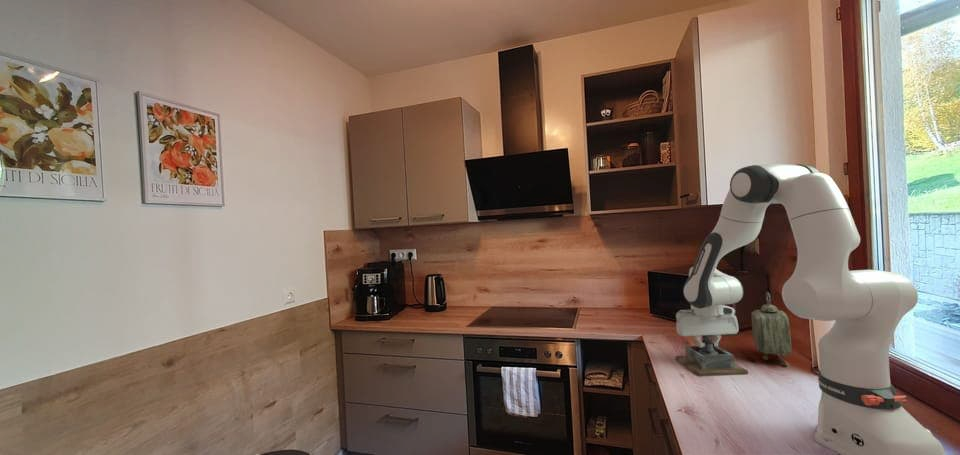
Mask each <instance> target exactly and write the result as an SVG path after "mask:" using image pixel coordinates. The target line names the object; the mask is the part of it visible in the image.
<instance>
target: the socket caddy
mask: <svg viewBox="0 0 960 455" xmlns="http://www.w3.org/2000/svg"><path fill="white" fill-rule="evenodd" d="M684 348H685V355H675V360H676V361H677V362H679V363H680V364H682V365H683V366H684V367H686V368H688V370H690V371H691V372H693V373H694V374H695V375H697V376H698V377H714V376H715V377H716V376H739V375H749V371H748V370H747V369H746V368H744V367H742V366H740V365H739V364H736V363H735V355H734V354H733V353H731V352H729V351H727V350H726V349H724V348H721V347H719V346H718V347H713V349H714V351H717V352H718V354H716V355H702V354H700V352H699V350H702V349H703V348H700V347H699V346H698V345H691V346H690V345H687V346H685V347H684Z"/></svg>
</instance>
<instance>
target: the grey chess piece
mask: <svg viewBox="0 0 960 455" xmlns="http://www.w3.org/2000/svg"><path fill="white" fill-rule="evenodd" d="M701 341H702V342H704V343H705V348H703V349H702V350H699V352H700V354H702V355H716V354H718V352H717V351H714V349H713V335H703V336H702V340H701Z"/></svg>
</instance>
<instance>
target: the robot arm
mask: <svg viewBox="0 0 960 455" xmlns="http://www.w3.org/2000/svg"><path fill="white" fill-rule="evenodd" d="M725 196H726V197H725V198H724V201H723V203H722V206H721V209H720V210H721V211H720V212H719V218H718V221H717V222H716V225H715V226H714V228H713V230H712V231H711V232H710V233H709V234H708V235H707V236H706V237H705V238H704V241H703V243H702V245H701V247H700V250H699V252H698V255H697V258H696V260H695V262H694V265H693V266H691V267H690V268H689V271H688V278H687V279H686V280H685V283H684V286H683V287H682V294H683V296H684V299H685V300H686V302H688V304H690V309H680V310H678V311H677V312H676V314H675V319H676V333H677V334H678V335H679V336H681V337H694V339H695V340H696V342H697V346H699V347H700V348H705V343H704V342H702V340H701V339H702V337H703V335H712V337H714V338H713V339H712V341H713V347H719V342H720V340H721V339H722V336H723V335H737V334H738V333H739V323H738V318H737V316H736V314H735V313H736V310H735V308H733V307H730V306H728V305H733V304H736V303H739V302H740V301H741V300H743V298H744V294H745V293H744V292H745V291H744V286H743V283H742V282H741V281H740V280H739V279H738V278H736V277H735V276H733V275H728V274H727V273H724V272H722V271H720V270H719V269H717V266H718V264H719V262H720V261H721V259H722V258H723V257H724V256H726V255H727V254H729V253H731V252H732V251H734V250H737V249H739V248H742V247H743V246H747V245H749V244H750V243H752V242H754V241H755V240H756V239H757V238H758V236H759V234H760V232H761V230H762V226H763V222H764V219H765V214H766V210H767V208H768V207H769V206H770V205H778V204H781V205H782V206H783V207H784V209H785V211H786V214H787V219H788V221H789V224H790V228H791V231H792V234H793V237H794V241H795V245H796V249H797V250H796V252H797V258H796V259H797V260H796V265H795V268H794V271H793V273H792V275H791V276H790V277H789V278H788V279H787V281H785V283H784V284H783V286H782V290H781V297H782V301H783V303H784V305H785V307H786V308H787V309H788V311H790V312H791V313H792V314H793V315H794V316H796V317H798V318H801V319H807V320H812V321H822V322H831V321H832V322H833V321H834V324H833V325H832V327H831V328H830V330H828V331H827V332H826V333H825V334H823V335H822V336H821V337H820V339H819V341H818V343H817V344H818V345H817V348H818V358H819V367H820V368H819V369H820V371H819V372H818V377H817V382H818V387H819V389H820V390H821V396H820V400H819V403H818V410H817V412H818V414H817V425H816V428H815V433H814V437H813V439H814V441H815V442H816V443H819V444H820V445H822V446H824V447H826V448H828V449H830V450H832V451H834V452H835V453H838V454H840V455H946V452H945V449H944V447H943V445H942V443H941V442H940V441H939V440H938V439H937V438H936V437H935V436H934V435H933V432H931V431H930V430H929V429H928V428H925V427H924V426H923V425H922V424H921V423H920V422H919V421H918V420H916V419H915V418H914V416H912V415H911V413H909V412H908V411H907V410H906V409H905V408H904V407H903V404H902V403H903V402H907V401H908V400H907V399H905V398H907V396H906V395H898V393H897V390H896V389H895V387H894V385H893V384H892V383H891V376H890V375H891V373H890V359H889V358H890V355H889V354H890V346H891V343H892V339H893V336H894V334H895V331H896V329H897V327H898V325H899V323H900V322H901V320H902V319H903V317H904V316H905V315H906V314H908V313H909V312H910V311H912V310H913V309H914V308H915V307H916V306H917V303H918V301H919V300H918V299H919V294H918V290H917V288H916V287H915V285H914V283H913V282H912V281H911V280H910V279H909V278H907V277H906V276H904V275H902V274H900V273H897V272H892V271H886V270H878V269H856V270H850V269H849V257H850V254H851V253H852V252H853V251H854V250H855V249H856V248H858V247H859V245H860V243H861V236H860V234H859V231H858V228H857V226H856V224H855V220H854V218H853V216H852V212H851V210H850V207H849V205H848V202H847V201H846V199H845V196H844V195H843V194H842V191H841V189H840V188H839V187H838V185H837V183H836V182H835V181H834V180H833V178H832V177H831V176H829V175H828V174H826V173H823V172H820V171H819V170H818V169H816V168H815V167H813V166H810V165H807V164H806V165H805V164H799V163H798V164H786V163H785V164H781V163H768V164H761V165H760V164H759V165H757V164H753V165H749V166H748V165H747V166H743V167H742V168H739V169H738V170H736V171H735V172H734V173H733V174H732V177H731V178H730V182H729V190H728V192H727V194H726V195H725Z"/></svg>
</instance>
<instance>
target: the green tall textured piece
mask: <svg viewBox="0 0 960 455" xmlns="http://www.w3.org/2000/svg"><path fill="white" fill-rule="evenodd" d="M765 299H766V304H763V305H762V306H761V307H760V309H756V310H753V311H751V313H750V316H751V327H752V337H753V343H754V346H755V349H756V350H758V351H760V352H762V353H763V354H764V355H763V356H762V358H763V360H765V361H768V360H769V356H768V355H769V354H771V355H776V356H778V358H779V359H780V360H781V361H782V363H781V364H782V366H783V367H789V363H788V362H787V361H785V359H784V358H783V356H793V355H792V354H793V353H792V352H793V351H792V350H793V349H792V338H791V337H792V336H791V329H790V321H789V317H788V316H787V314H786V313H785V312H784V311H783V310H779V309H778V307H777V306H775V305H774V304H772V299H771V294H770V293H769V291H765Z"/></svg>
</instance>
